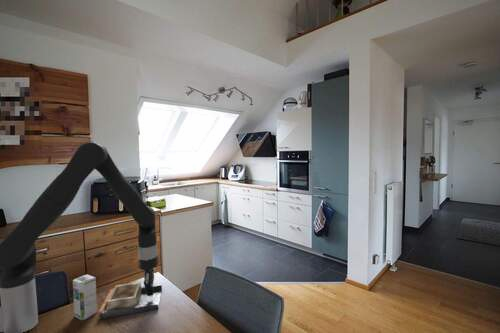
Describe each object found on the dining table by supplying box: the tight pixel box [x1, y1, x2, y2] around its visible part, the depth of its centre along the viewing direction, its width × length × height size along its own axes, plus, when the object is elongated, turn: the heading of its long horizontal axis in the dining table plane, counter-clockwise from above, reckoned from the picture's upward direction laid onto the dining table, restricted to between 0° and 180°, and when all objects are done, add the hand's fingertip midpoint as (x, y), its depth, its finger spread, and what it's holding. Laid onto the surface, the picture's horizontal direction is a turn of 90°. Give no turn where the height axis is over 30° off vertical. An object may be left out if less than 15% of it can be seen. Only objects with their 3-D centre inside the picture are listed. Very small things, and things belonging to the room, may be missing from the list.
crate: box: [107, 281, 142, 310], centre depth 103 cm, size 10×12×5 cm
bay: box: [98, 283, 163, 320], centre depth 103 cm, size 21×15×3 cm
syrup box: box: [72, 274, 98, 321], centre depth 96 cm, size 6×6×14 cm
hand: (150, 294), depth 105 cm, fingers closed
